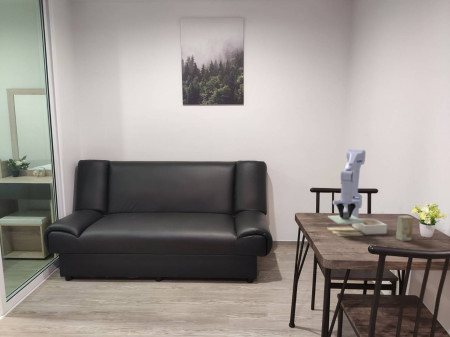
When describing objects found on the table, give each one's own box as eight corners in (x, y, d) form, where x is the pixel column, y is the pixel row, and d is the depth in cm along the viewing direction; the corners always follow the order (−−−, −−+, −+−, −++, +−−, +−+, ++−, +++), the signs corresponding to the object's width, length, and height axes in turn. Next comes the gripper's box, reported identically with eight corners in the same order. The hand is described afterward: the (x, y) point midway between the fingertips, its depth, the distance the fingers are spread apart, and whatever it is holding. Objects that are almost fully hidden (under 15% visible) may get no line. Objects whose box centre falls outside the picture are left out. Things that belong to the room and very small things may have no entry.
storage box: (352, 227, 200) (352, 219, 199) (373, 226, 202) (373, 218, 201) (364, 234, 187) (364, 225, 186) (386, 233, 189) (387, 224, 188)
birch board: (326, 228, 198) (326, 227, 198) (349, 227, 200) (349, 226, 200) (338, 236, 183) (338, 235, 183) (363, 235, 185) (363, 234, 185)
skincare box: (401, 241, 177) (403, 217, 175) (395, 238, 181) (397, 215, 180) (412, 240, 179) (413, 217, 177) (405, 237, 183) (407, 214, 181)
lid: (327, 218, 197) (327, 209, 196) (351, 217, 198) (351, 208, 198) (338, 225, 183) (338, 216, 182) (363, 224, 184) (364, 215, 184)
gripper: (337, 194, 184) (335, 219, 185) (363, 194, 186) (361, 218, 187) (331, 191, 191) (330, 216, 192) (356, 191, 193) (354, 215, 194)
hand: (345, 217), depth 190 cm, fingers closed on lid, 4 cm apart
